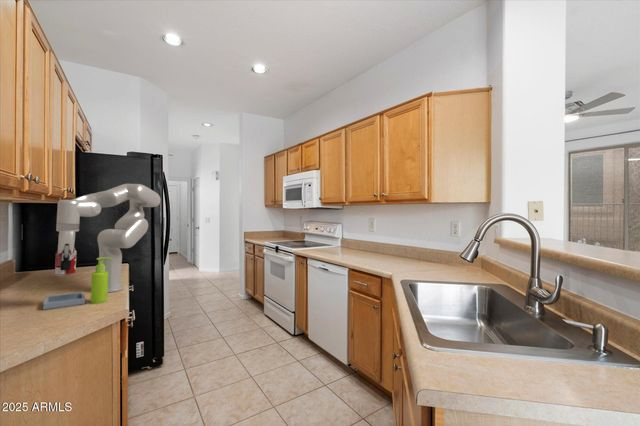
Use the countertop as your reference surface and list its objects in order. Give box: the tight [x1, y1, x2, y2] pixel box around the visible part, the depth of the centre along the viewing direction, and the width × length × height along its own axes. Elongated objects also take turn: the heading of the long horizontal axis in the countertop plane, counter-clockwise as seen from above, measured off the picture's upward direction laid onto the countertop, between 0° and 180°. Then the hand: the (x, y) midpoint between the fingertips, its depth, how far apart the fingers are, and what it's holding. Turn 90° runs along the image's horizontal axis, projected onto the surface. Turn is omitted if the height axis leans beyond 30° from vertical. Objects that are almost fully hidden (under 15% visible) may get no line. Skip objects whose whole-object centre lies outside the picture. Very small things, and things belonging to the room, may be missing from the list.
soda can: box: [54, 247, 77, 277], centre depth 124 cm, size 7×7×12 cm
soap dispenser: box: [90, 257, 112, 305], centre depth 128 cm, size 6×7×20 cm
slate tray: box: [42, 291, 86, 311], centre depth 124 cm, size 13×13×2 cm
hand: (65, 268), depth 123 cm, fingers closed on soda can, 6 cm apart
